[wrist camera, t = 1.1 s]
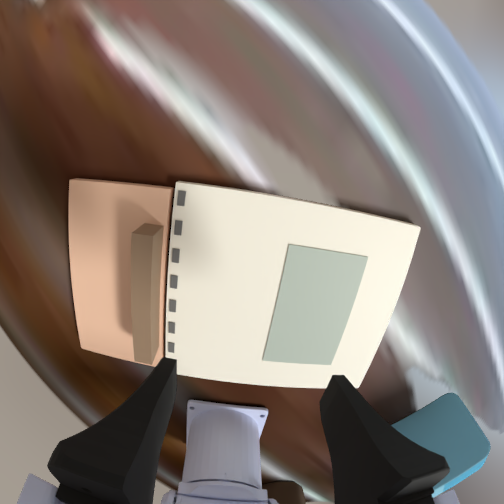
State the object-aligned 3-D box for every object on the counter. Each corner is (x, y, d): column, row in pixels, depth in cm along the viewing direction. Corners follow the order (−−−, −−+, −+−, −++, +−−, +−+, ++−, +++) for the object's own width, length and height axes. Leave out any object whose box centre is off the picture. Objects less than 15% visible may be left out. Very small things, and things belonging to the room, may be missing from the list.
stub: (164, 360, 24) (155, 387, 21) (85, 342, 23) (70, 364, 20) (173, 187, 19) (159, 194, 16) (76, 178, 19) (50, 184, 15)
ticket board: (355, 381, 26) (358, 388, 24) (167, 364, 24) (165, 372, 23) (414, 224, 20) (421, 227, 19) (179, 180, 19) (175, 182, 18)
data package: (378, 445, 31) (403, 512, 19) (373, 433, 29) (401, 506, 18) (452, 404, 29) (489, 462, 18) (453, 387, 28) (495, 450, 16)
